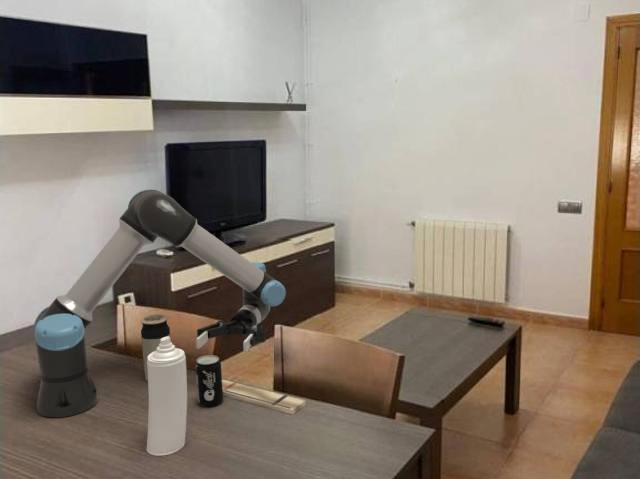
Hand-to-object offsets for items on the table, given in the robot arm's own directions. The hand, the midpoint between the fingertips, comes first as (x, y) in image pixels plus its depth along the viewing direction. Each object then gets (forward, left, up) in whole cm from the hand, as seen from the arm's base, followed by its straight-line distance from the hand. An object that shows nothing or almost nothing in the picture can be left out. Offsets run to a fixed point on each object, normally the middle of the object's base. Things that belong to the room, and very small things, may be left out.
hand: (220, 345), depth 169 cm
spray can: (-28, -8, -13) cm, 32 cm away
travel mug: (-3, +21, -13) cm, 25 cm away
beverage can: (-8, -3, -13) cm, 15 cm away
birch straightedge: (-1, -11, -12) cm, 16 cm away
